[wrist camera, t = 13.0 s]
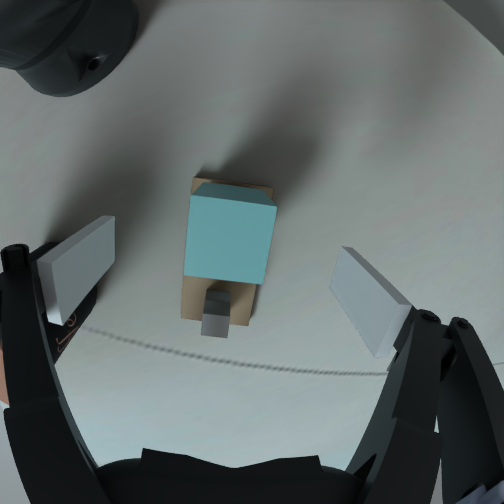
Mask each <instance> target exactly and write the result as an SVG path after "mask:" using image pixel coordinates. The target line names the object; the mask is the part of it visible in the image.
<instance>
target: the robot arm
mask: <svg viewBox="0 0 504 504" xmlns="http://www.w3.org/2000/svg"><path fill="white" fill-rule="evenodd" d="M137 27H138V10H137V7H136V5H135V3H134V2H133V0H0V67H4V68H9V69H13V70H16V72H17V73H18V74H19V75H20V76H21V77H22V78H23V79H24V80H25V81H26V82H27V83H28V84H30V86H31V87H32V88H33V89H35V90H36V91H38V92H40V93H42V94H46V95H50V96H55V97H67V96H72V95H75V94H78V93H81V92H83V91H85V90H87V89H89V88H90V87H92V86H94V85H95V84H97V83H98V82H99V81H101V80H102V79H103V78H104V77H106V76H107V75H108V74H109V73H110V72H111V71H112V70H113V69H114V68H115V67H116V66H117V64H118V63H119V62H120V61H121V59H122V58H123V57H124V55H125V54H126V52H127V51H128V49H129V47H130V46H131V44H132V42H133V39H134V37H135V34H136V31H137ZM0 254H1V260H2V265H3V271H4V275H0V343H1V339H2V351H3V364H4V373H5V381H6V388H7V395H8V400H9V407H10V408H6V409H4V421H5V426H6V430H7V434H8V439H9V442H10V446H11V450H12V453H13V457H14V460H15V463H16V466H17V469H18V472H19V475H20V478H21V481H22V483H23V486H24V489H25V491H26V494H27V496H28V498H29V501H30V503H31V504H430V502H431V498H432V495H433V491H434V487H435V483H436V479H437V474H438V469H439V465H440V460H441V468H442V497H443V498H442V499H443V504H504V390H503V388H502V385H501V383H500V381H499V378H498V376H497V374H496V372H495V369H494V367H493V365H492V363H491V361H490V359H489V357H488V355H487V353H486V351H485V349H484V347H483V345H482V343H481V341H480V339H479V337H478V335H477V334H476V332H475V330H474V328H473V326H472V325H471V324H470V323H469V322H468V321H467V320H466V319H464V318H459V317H453V318H452V320H451V322H450V324H449V326H447V325H443V324H441V320H440V319H439V317H438V316H437V315H435V314H434V313H433V312H431V311H427V310H423V309H419V310H417V309H416V308H415V307H414V306H413V305H412V304H411V303H410V302H409V301H408V300H407V299H406V298H405V297H404V296H403V295H402V294H401V293H400V292H399V291H398V290H397V289H396V288H395V287H394V286H393V285H392V284H391V283H390V282H389V281H388V280H387V279H386V278H384V277H383V276H382V275H381V274H380V273H379V272H378V271H377V270H376V269H375V268H374V267H373V266H372V265H371V264H370V263H369V262H367V261H366V260H365V259H364V258H363V257H362V256H361V255H360V254H359V253H358V252H357V251H355V250H354V249H353V248H350V247H344V246H341V249H340V253H339V256H338V260H337V263H336V267H335V270H334V274H333V277H332V280H331V284H330V287H329V288H330V289H331V291H332V292H333V294H334V295H335V297H336V298H337V300H338V301H339V303H340V305H341V306H342V308H343V309H344V311H345V312H346V314H347V315H348V317H349V318H350V320H351V322H352V323H353V325H354V326H355V328H356V329H357V331H358V333H359V334H360V336H361V337H362V339H363V341H364V342H365V344H366V346H367V347H368V349H369V350H370V352H371V354H372V355H373V357H374V358H379V357H388V355H389V353H390V351H391V349H392V347H393V346H394V348H395V349H396V350H397V352H396V354H395V356H394V358H393V360H392V361H391V363H390V365H389V367H388V368H387V370H386V371H389V373H388V376H387V379H386V381H385V384H384V387H383V390H382V392H381V395H380V398H379V400H378V403H377V405H376V408H375V410H374V413H373V415H372V417H371V420H370V422H369V424H368V426H367V429H366V431H365V433H364V435H363V437H362V440H361V442H360V444H359V446H358V448H357V450H356V452H355V454H354V456H353V458H352V460H351V462H350V463H349V465H348V467H347V468H346V470H345V471H343V470H340V469H336V468H333V467H327V466H321V464H320V460H319V457H318V455H315V456H306V457H294V458H278V459H274V460H270V461H266V462H262V463H258V464H254V465H249V466H244V467H239V468H230V467H225V466H222V465H218V464H214V463H211V462H207V461H204V460H201V459H197V458H194V457H191V456H188V455H182V454H175V453H168V452H162V451H156V450H151V449H146V448H143V450H142V456H141V458H133V459H124V460H119V461H115V462H112V463H109V464H106V465H103V466H101V467H98V465H97V464H96V462H95V460H94V459H93V457H92V455H91V453H90V451H89V450H88V448H87V446H86V444H85V442H84V440H83V438H82V436H81V433H80V431H79V429H78V427H77V425H76V422H75V420H74V418H73V416H72V413H71V411H70V408H69V406H68V403H67V401H66V398H65V395H64V393H63V390H62V387H61V384H60V382H59V379H58V376H57V373H56V369H55V366H54V363H53V360H52V356H51V353H50V349H49V345H48V341H47V337H46V333H45V329H44V325H43V320H42V316H41V314H42V313H43V312H44V311H45V310H46V313H47V317H48V321H49V322H52V323H55V324H59V325H62V326H63V325H64V323H65V322H66V321H67V319H68V318H69V317H70V315H71V314H72V313H73V311H74V310H75V309H76V308H77V306H78V305H79V304H80V302H81V301H82V300H83V299H84V297H85V296H86V295H87V294H88V293H89V291H90V290H91V289H92V288H93V286H94V285H95V284H96V283H97V282H98V280H99V279H100V278H101V277H102V276H103V275H104V273H105V272H106V271H107V270H108V269H109V268H110V266H111V265H112V264H113V263H114V262H115V216H107V215H103V216H101V217H99V218H98V219H96V220H95V221H93V222H91V223H90V224H88V225H87V226H85V227H84V228H82V229H81V230H79V231H78V232H76V233H75V234H73V235H72V236H70V237H69V238H67V239H66V240H64V241H63V242H62V243H60V244H59V245H57V246H56V247H53V248H51V249H49V250H48V251H47V252H45V253H44V254H42V255H41V257H38V258H37V259H36V260H34V261H33V262H32V263H31V261H30V254H29V247H28V246H27V245H25V244H13V245H9V246H7V247H5V248H4V249H2V250H1V252H0ZM436 416H437V421H438V429H439V433H437V432H434V429H435V423H436Z"/></svg>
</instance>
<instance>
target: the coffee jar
mask: <svg viewBox="0 0 504 504" xmlns="http://www.w3.org/2000/svg"><path fill="white" fill-rule="evenodd" d="M59 244H60V242H49V243H47V244H45V245H43V246H41V247H39V248H38V249H36V250H34V251H33V252H31V253H30V261H31V263H32V262H33V261H34V260H36V259H37V258H38V257H41V255H42V254H44V253H45V252H47V251H48V250H49V249H51V248H53V247H56V246H57V245H59ZM0 275H4V271H3V272H2V273H1V274H0ZM96 295H97V286H96V284H95V285H94V286H93V288H92V289H91V290H90V291H89V293H88V294H87V295H86V296H85V297H84V299H83V300H82V301H81V302H80V304H79V305H78V306H77V308H76V309H75V310H74V311H73V313H72V314H71V315H70V317H69V318H68V319H67V321H66V322H65V323H64V325H63V326H62V325H59V324H55V323H52V322H49V321H48V317H47V313H46V310H45V311H44V312H43V313H42V314H41V316H42V320H43V325H44V329H45V333H46V337H47V341H48V345H49V349H50V353H51V356H52V360H53V363H54V365H55V363H56V362H57V360H58V358H59V357H60V355H61V354H62V352H63V351H64V349H65V348H66V346H67V345H68V344H69V342H70V341H71V339H72V338H73V336H74V335H75V333H76V332H77V331H78V329H79V328H80V326H81V325H82V324H83V322H84V321H85V319H86V318H87V317H88V315H89V314H90V313H91V311H92V309H93V307H94V305H95V303H96ZM0 400H1V401H3V402H4V403H6V404H8V405H9V400H8V395H7V388H6V381H5V373H4V364H3V351H2V339H1V343H0Z"/></svg>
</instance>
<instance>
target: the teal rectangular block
mask: <svg viewBox="0 0 504 504" xmlns="http://www.w3.org/2000/svg"><path fill="white" fill-rule="evenodd" d="M276 211H277V206H276V205H275V204H274V202H273V201H272V200H271V199H270V198H269V197H268V195H267V194H266V193H265V192H264V191H263V190H260V189H254V188H247V187H240V186H232V185H225V184H217V183H209V182H203V183H202V184H201V185H200V186H199V187H198V188H197V189H196V190H195V191H194V192H193V193H192V194H191V198H190V207H189V217H188V227H187V238H186V249H185V262H184V275H187V276H195V277H203V278H211V279H219V280H228V281H236V282H245V283H254V284H263V280H264V275H265V270H266V264H267V259H268V254H269V249H270V243H271V238H272V233H273V227H274V222H275V216H276Z"/></svg>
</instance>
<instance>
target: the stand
mask: <svg viewBox="0 0 504 504" xmlns="http://www.w3.org/2000/svg"><path fill="white" fill-rule="evenodd" d="M203 182H209V183H217V184H225V185H232V186H240V187H247V188H254V189H260V190H263V191H264V192H265V193H266V194H267V195H268V197H269V198H270V199H271V200H272V197H273V191H274V189H273V188H271V187H265V186H259V185H252V184H246V183H239V182H232V181H225V180H217V179H209V178H201V177H193V181H192V189H191V194H192V193H193V192H194V191H195V190H196V189H197V188H198V187H199V186H200V185H201V184H202V183H203ZM190 198H191V197H190ZM189 207H190V206H189ZM188 217H189V215H188ZM187 227H188V224H187ZM186 238H187V234H186ZM185 249H186V245H185ZM184 262H185V257H184ZM255 288H256V284H254V283H245V282H236V281H228V280H219V279H211V278H203V277H195V276H187V275H184V270H183V284H182V301H181V318H184V319H191V320H198V321H202V329H201V335H204V336H212V337H221V338H227V336H228V329H229V324H233V325H243V326H248V325H249V320H250V315H251V309H252V304H253V299H254V294H255Z"/></svg>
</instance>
